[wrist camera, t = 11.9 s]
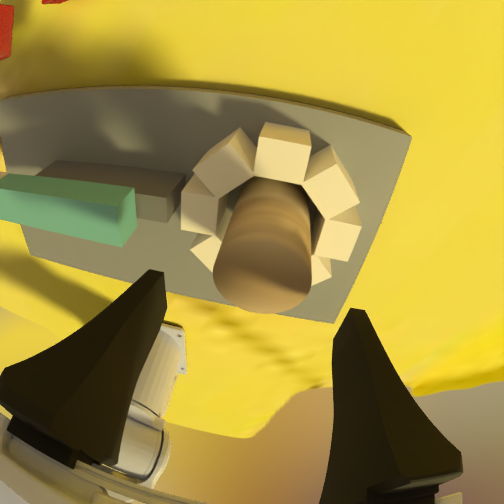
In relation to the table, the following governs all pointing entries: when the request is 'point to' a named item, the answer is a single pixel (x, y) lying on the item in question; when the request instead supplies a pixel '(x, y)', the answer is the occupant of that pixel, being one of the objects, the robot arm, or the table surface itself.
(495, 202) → the table surface
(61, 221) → the bar
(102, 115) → the board
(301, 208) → the peg
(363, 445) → the robot arm
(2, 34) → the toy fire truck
